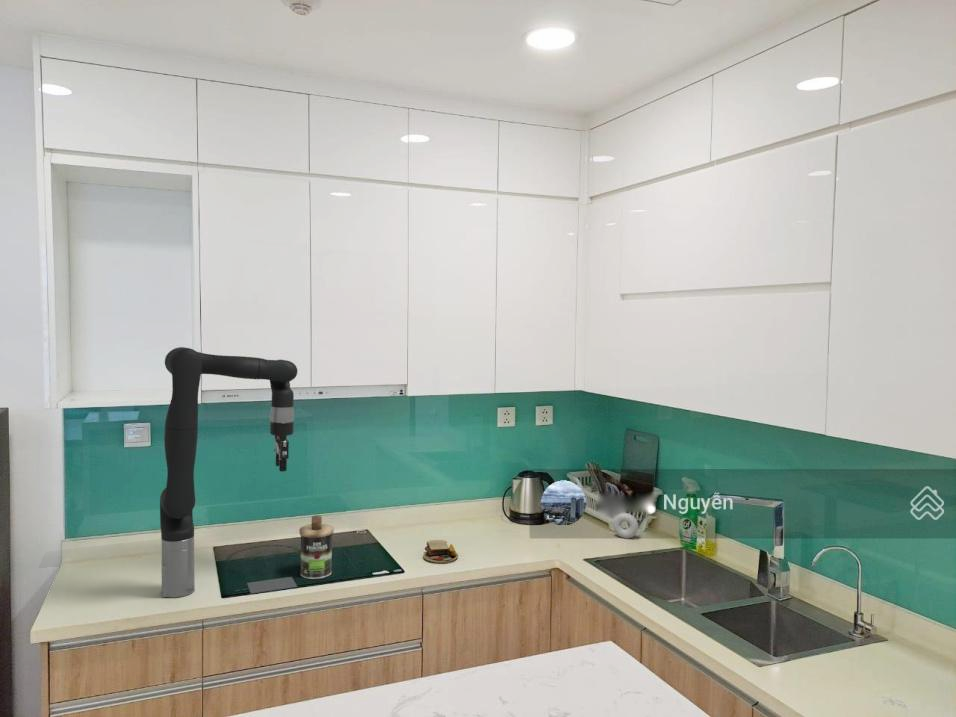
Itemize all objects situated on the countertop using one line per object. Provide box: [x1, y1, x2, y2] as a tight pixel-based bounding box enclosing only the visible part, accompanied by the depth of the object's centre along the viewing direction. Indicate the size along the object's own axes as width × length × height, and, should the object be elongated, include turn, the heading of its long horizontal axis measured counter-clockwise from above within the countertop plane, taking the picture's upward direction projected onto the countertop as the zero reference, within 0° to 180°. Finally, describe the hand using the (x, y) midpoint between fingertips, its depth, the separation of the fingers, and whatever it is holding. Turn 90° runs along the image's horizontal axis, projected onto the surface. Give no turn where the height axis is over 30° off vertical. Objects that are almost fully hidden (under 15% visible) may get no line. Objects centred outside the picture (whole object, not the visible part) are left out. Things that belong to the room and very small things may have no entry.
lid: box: [298, 515, 335, 538], centre depth 228 cm, size 11×11×5 cm
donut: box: [612, 512, 639, 539], centre depth 272 cm, size 10×4×10 cm, turn 66°
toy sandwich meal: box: [423, 539, 459, 564], centre depth 247 cm, size 12×14×5 cm
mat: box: [246, 576, 298, 594], centre depth 218 cm, size 14×9×1 cm, turn 115°
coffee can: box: [300, 533, 333, 580], centre depth 228 cm, size 10×10×14 cm
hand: (280, 468), depth 229 cm, fingers open, 8 cm apart
